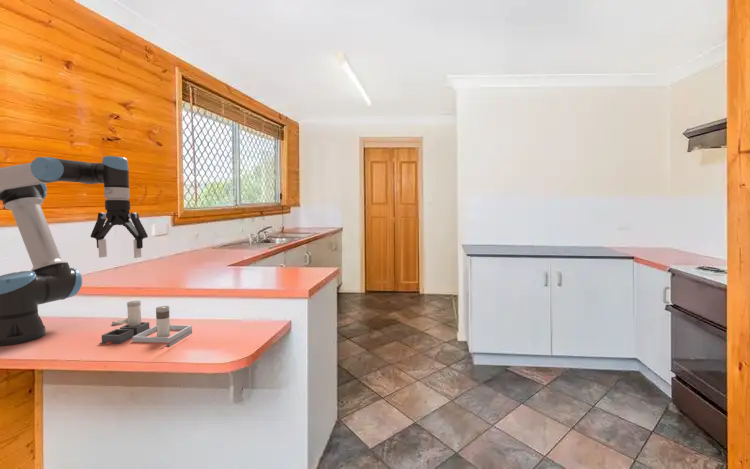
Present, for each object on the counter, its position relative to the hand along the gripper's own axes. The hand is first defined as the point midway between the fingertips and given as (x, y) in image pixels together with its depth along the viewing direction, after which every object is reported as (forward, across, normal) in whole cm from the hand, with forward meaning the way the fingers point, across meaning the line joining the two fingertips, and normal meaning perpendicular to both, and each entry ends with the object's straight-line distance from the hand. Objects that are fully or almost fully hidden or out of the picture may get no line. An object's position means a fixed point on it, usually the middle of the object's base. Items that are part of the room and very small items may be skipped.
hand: (120, 257), depth 133 cm
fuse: (+27, +6, -2) cm, 28 cm away
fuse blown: (+28, +19, -5) cm, 34 cm away
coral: (+29, -7, +10) cm, 31 cm away
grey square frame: (+29, +19, -5) cm, 35 cm away
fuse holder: (+29, +6, -6) cm, 30 cm away
